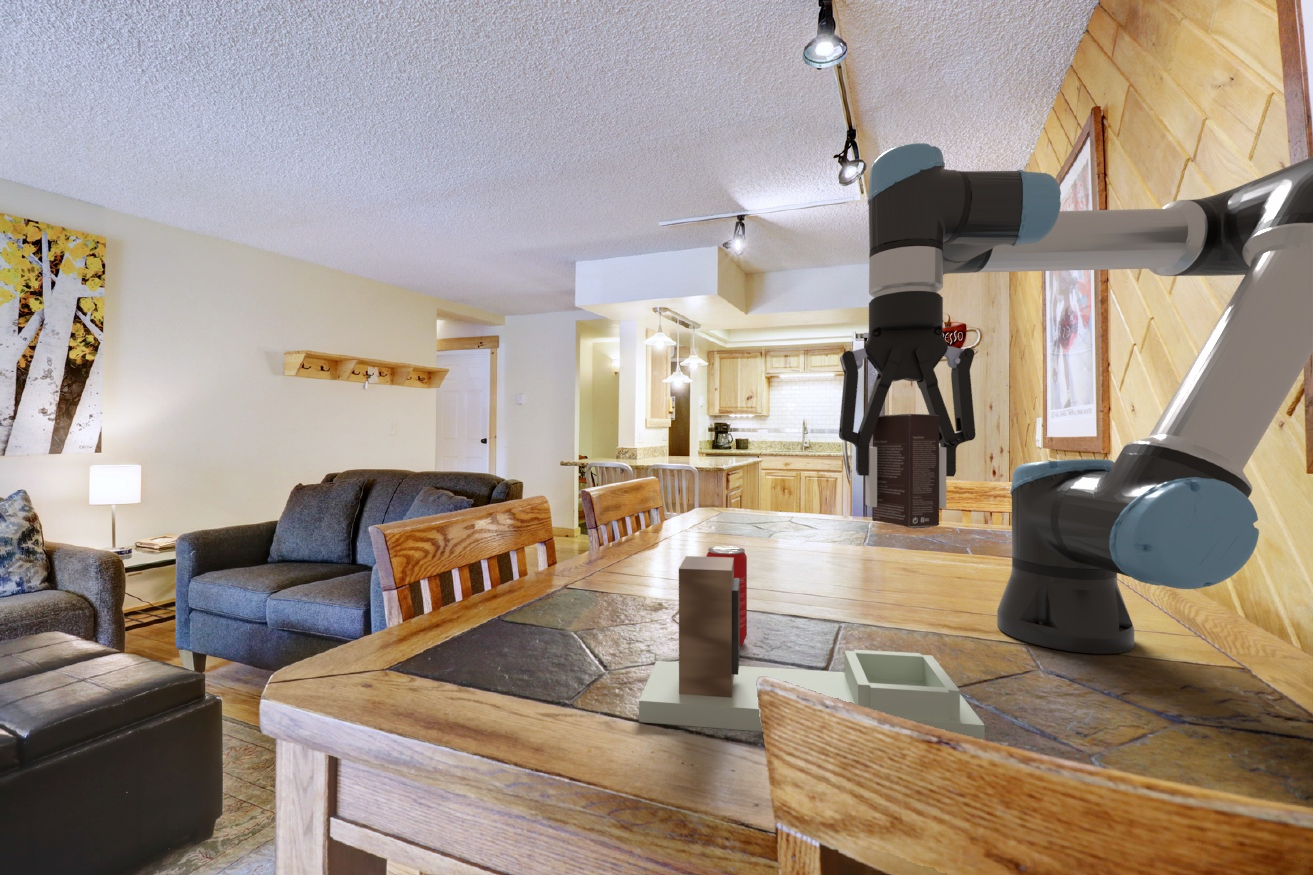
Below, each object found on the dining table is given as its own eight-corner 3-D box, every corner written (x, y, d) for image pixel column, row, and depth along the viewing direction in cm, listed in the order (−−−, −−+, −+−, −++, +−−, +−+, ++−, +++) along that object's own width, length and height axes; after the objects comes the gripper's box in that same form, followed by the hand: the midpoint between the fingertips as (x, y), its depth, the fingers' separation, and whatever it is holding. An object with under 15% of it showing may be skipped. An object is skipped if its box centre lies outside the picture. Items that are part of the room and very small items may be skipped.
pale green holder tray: (948, 697, 62) (948, 653, 62) (984, 748, 52) (984, 695, 52) (656, 679, 66) (656, 638, 66) (639, 721, 57) (638, 673, 57)
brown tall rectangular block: (739, 673, 63) (739, 557, 63) (738, 697, 57) (737, 570, 57) (686, 669, 64) (685, 556, 64) (678, 693, 58) (678, 568, 58)
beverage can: (745, 650, 75) (745, 554, 75) (704, 648, 76) (703, 552, 76) (747, 637, 80) (747, 546, 80) (708, 634, 81) (708, 545, 81)
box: (942, 526, 65) (941, 413, 65) (908, 529, 63) (907, 413, 63) (901, 519, 70) (901, 415, 70) (869, 521, 69) (869, 415, 69)
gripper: (987, 300, 69) (986, 503, 69) (811, 306, 72) (811, 500, 72) (1014, 283, 61) (1014, 512, 61) (817, 291, 65) (817, 508, 65)
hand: (904, 505), depth 67 cm, fingers closed on box, 6 cm apart
